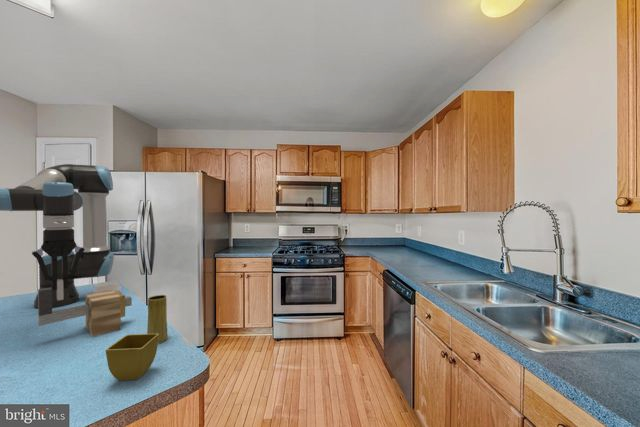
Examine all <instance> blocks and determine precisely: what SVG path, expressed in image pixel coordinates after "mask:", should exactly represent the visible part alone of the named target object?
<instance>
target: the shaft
mask: <svg viewBox="0 0 640 427" xmlns="http://www.w3.org/2000/svg"><path fill="white" fill-rule="evenodd" d="M37 294H38V308H37V314H38V321H37V322H38V326H43V325H48V324H51V323H52V324H53V323H58V322H62V321H66V320H70V319H71V320H72V319H76V318H80V317H84V316H85V317H86V315H90V305H89V304H86V303H85V304H82V305H77V306H71V307H67V308H61V309H55V310H53V307H52V288H51V287H50V288H43V289H37ZM132 302H133V300H132V296H130V295H128V296H125V308H126V307H130V306H133V304H132Z"/></svg>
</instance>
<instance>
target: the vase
mask: <svg viewBox="0 0 640 427" xmlns="http://www.w3.org/2000/svg"><path fill="white" fill-rule="evenodd" d="M147 301H148V302H147V328H146V329H147V331H146V334H159V338H158V344H160V343H163V342H165V341H167V340H168V339H169V335H168V320H167V313H168V312H167V311H168V310H167V307H168V306H167V294H166V295H165V294H157V295H153V296H149V297H148V298H147Z"/></svg>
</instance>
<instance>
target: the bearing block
mask: <svg viewBox="0 0 640 427" xmlns="http://www.w3.org/2000/svg"><path fill="white" fill-rule="evenodd" d="M86 304H89V305H90V315H85V328H86V329H87V331H88V332H89V334H90V335H91V337H92V338H93V337H97V336H102V335H105V334H107V333H111V332H115V331H119V330H121V319H122V317H121V316H120V296H119V295H118V294H117V293H116V292H114V291H113V290H109V291H103V292H98V293H94V292H92V293H87V294H85V305H86Z"/></svg>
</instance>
